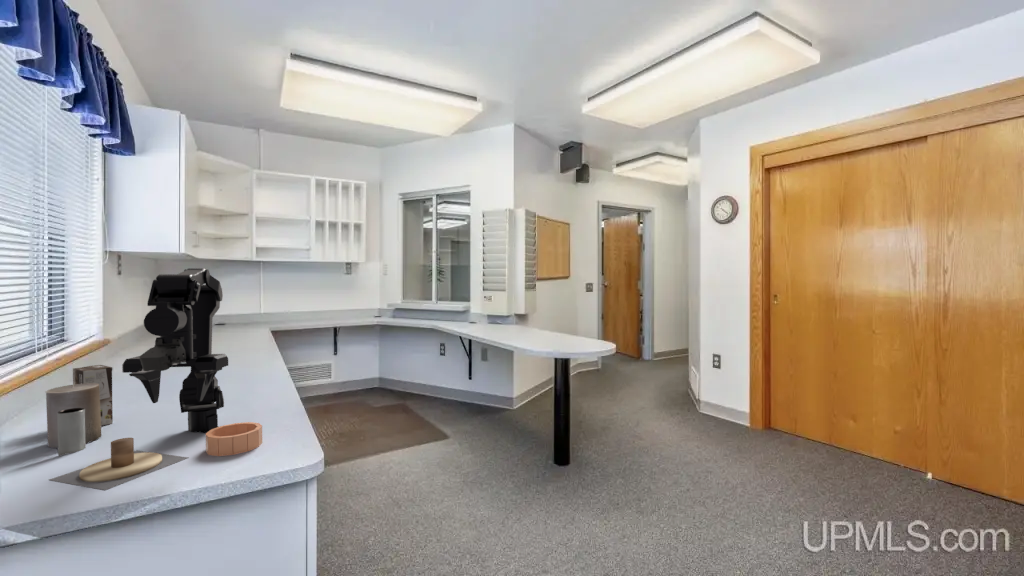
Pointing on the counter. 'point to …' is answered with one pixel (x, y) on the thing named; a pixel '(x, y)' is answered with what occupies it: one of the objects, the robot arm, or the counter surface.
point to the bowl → (233, 438)
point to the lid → (121, 463)
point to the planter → (71, 430)
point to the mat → (105, 485)
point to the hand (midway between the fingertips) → (177, 401)
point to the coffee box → (104, 379)
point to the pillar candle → (74, 398)
